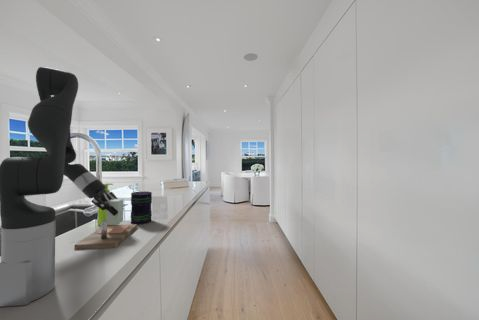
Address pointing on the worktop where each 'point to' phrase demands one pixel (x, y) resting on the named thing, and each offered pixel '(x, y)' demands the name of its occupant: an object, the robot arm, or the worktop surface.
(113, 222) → the pale mint tall block
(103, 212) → the lime green stepped cylinder
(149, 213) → the dark blue ridged cylinder
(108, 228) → the terracotta pad
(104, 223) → the steel post
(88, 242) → the walnut board
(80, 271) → the worktop surface
